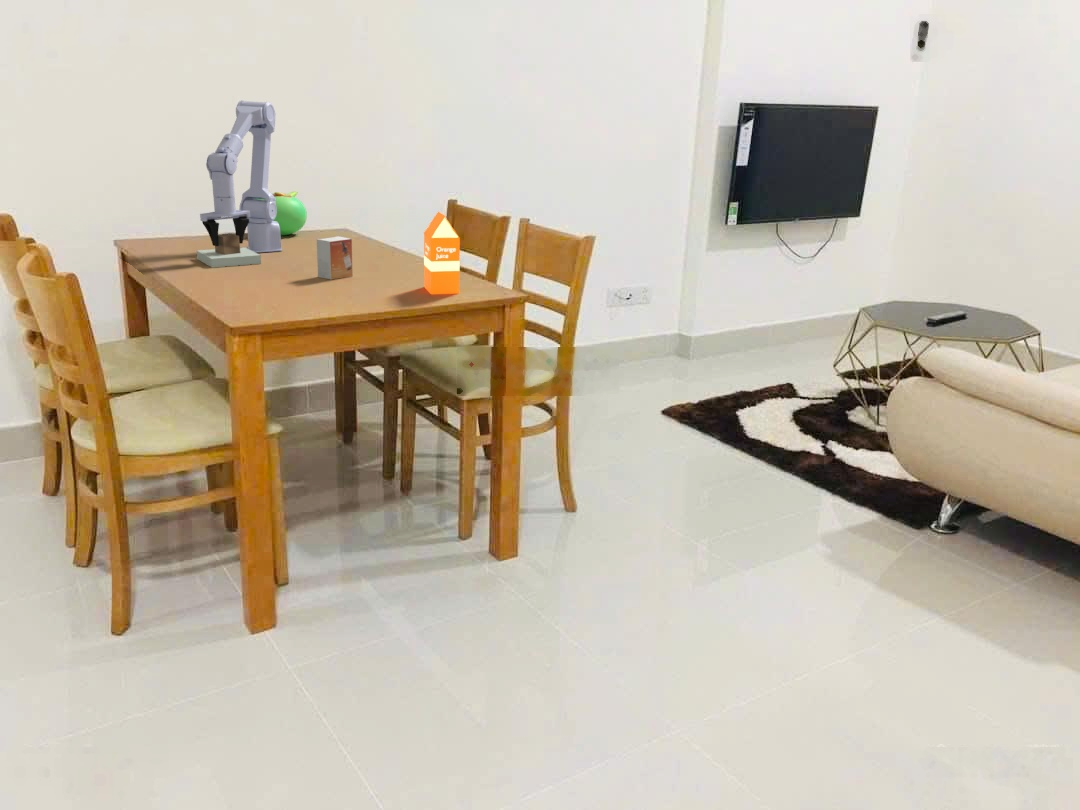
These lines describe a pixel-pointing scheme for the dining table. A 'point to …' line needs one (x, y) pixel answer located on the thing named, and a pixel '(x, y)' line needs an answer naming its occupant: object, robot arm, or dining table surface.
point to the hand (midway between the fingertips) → (227, 244)
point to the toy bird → (289, 212)
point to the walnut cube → (228, 244)
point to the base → (228, 258)
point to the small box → (334, 257)
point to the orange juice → (441, 257)
